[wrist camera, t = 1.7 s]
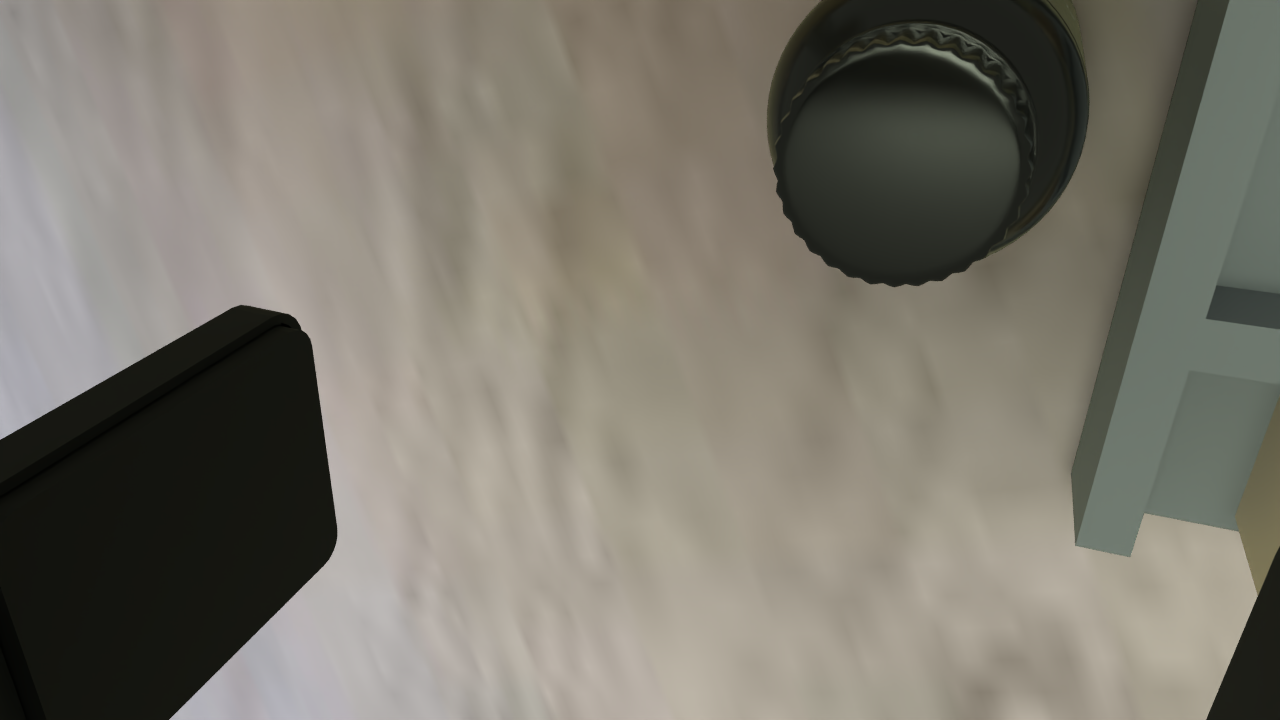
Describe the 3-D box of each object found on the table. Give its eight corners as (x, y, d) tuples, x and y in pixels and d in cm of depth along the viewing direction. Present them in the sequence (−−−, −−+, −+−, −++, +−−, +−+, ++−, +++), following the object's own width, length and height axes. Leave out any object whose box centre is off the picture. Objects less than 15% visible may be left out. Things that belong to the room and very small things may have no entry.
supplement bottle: (1098, -79, 26) (1139, -22, 16) (1059, 177, 29) (1073, 360, 19) (833, -73, 28) (722, -19, 18) (823, 165, 31) (724, 322, 21)
